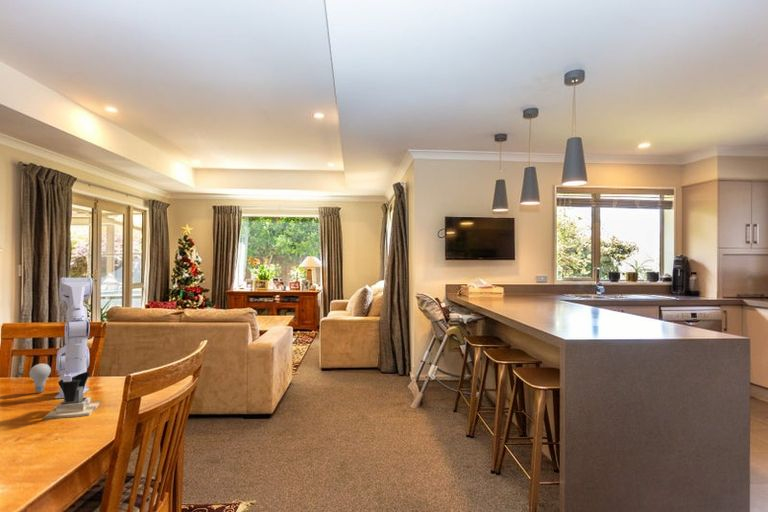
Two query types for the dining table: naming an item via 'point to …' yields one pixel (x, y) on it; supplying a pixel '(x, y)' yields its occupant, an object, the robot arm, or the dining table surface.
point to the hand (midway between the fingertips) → (74, 397)
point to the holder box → (73, 409)
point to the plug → (77, 396)
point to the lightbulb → (40, 376)
